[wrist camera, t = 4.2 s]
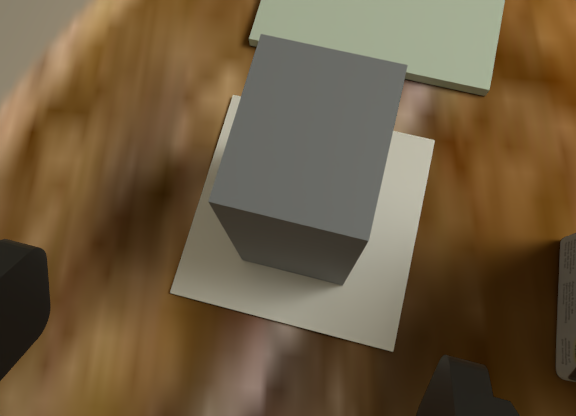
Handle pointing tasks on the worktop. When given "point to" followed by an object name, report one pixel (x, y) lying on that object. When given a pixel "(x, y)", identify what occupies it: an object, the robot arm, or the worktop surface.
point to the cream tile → (305, 290)
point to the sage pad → (397, 34)
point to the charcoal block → (307, 157)
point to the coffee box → (566, 311)
